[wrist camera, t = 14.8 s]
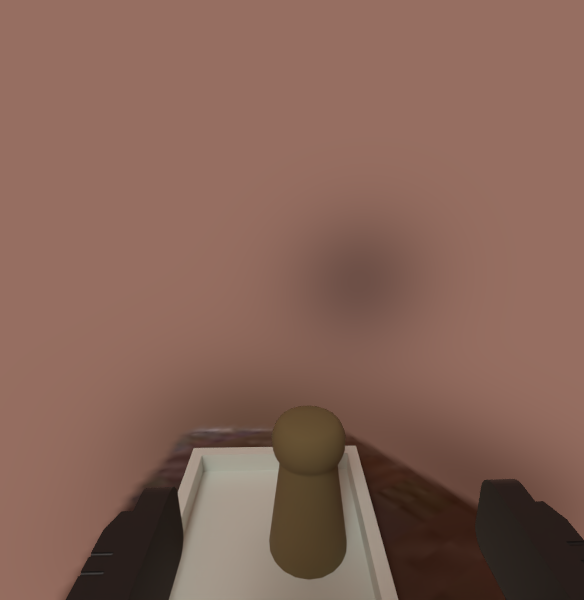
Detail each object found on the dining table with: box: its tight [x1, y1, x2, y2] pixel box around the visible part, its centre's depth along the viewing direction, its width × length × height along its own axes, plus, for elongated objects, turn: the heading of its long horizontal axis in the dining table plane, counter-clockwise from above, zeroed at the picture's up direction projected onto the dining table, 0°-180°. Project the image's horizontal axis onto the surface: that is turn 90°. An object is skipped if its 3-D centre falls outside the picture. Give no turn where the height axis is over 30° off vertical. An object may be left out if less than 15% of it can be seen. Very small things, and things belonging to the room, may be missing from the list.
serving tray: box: [169, 446, 398, 600], centre depth 29 cm, size 16×16×2 cm
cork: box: [269, 406, 347, 580], centre depth 27 cm, size 6×6×11 cm
